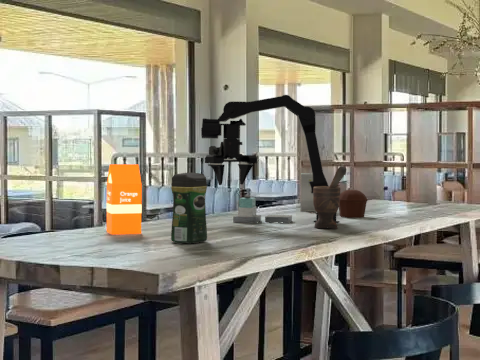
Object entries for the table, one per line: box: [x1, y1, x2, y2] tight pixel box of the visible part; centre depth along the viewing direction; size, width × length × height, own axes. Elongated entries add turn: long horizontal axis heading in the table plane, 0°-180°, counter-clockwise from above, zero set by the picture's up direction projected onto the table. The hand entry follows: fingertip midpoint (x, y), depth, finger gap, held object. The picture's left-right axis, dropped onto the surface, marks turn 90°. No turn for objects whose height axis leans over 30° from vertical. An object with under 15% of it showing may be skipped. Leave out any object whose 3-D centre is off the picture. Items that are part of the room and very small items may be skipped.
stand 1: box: [232, 214, 262, 224], centre depth 268 cm, size 8×8×2 cm
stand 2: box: [264, 214, 293, 224], centre depth 269 cm, size 8×8×2 cm
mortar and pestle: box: [313, 165, 347, 230], centre depth 249 cm, size 12×9×20 cm
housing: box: [237, 195, 257, 217], centre depth 268 cm, size 7×5×7 cm
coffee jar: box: [170, 172, 208, 245], centre depth 209 cm, size 10×8×19 cm
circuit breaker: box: [299, 172, 315, 212], centre depth 320 cm, size 8×14×15 cm, turn 174°
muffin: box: [338, 189, 369, 219], centre depth 292 cm, size 12×11×10 cm
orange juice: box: [106, 163, 143, 235], centre depth 230 cm, size 8×9×20 cm
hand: (231, 184), depth 268 cm, fingers open, 9 cm apart
